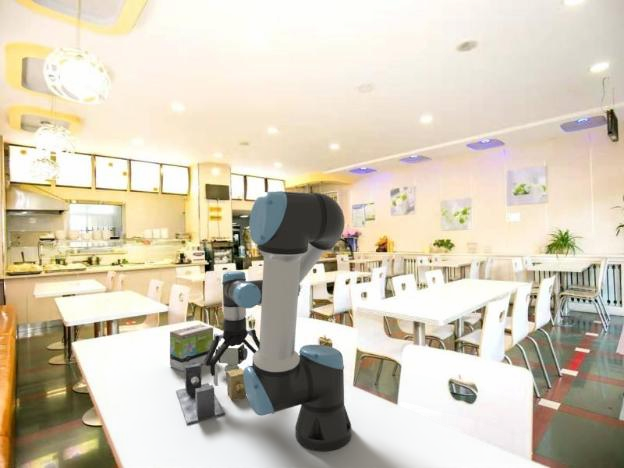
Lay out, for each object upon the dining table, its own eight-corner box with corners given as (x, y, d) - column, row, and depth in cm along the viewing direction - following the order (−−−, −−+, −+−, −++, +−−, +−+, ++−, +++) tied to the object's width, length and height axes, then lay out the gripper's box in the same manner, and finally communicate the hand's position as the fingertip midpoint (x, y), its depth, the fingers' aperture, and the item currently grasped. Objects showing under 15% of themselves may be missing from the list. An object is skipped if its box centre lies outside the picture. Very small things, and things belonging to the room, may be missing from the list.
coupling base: (225, 414, 104) (224, 386, 104) (187, 424, 99) (186, 395, 99) (208, 384, 125) (207, 361, 125) (176, 391, 120) (175, 367, 120)
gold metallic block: (247, 398, 114) (247, 374, 114) (232, 402, 112) (232, 378, 112) (240, 389, 121) (240, 366, 121) (226, 393, 119) (225, 369, 119)
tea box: (183, 372, 138) (182, 335, 138) (169, 366, 144) (168, 331, 144) (214, 360, 150) (213, 326, 150) (200, 355, 156) (199, 323, 156)
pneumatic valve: (243, 376, 132) (242, 345, 132) (215, 374, 134) (214, 344, 134) (249, 370, 137) (248, 340, 137) (221, 369, 140) (221, 339, 140)
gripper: (265, 310, 125) (266, 368, 126) (194, 320, 114) (195, 383, 114) (273, 314, 119) (274, 375, 119) (198, 325, 107) (200, 393, 107)
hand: (236, 379), depth 117 cm, fingers open, 13 cm apart
